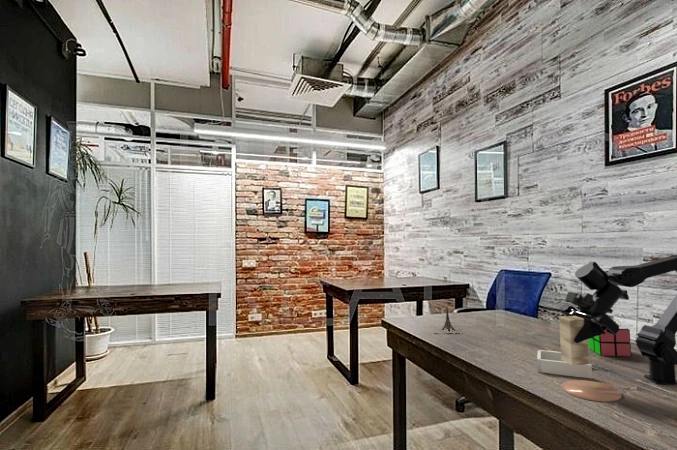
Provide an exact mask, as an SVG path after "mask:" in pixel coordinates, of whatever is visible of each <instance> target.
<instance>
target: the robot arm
mask: <svg viewBox="0 0 677 450" xmlns="http://www.w3.org/2000/svg"><path fill="white" fill-rule="evenodd" d="M674 271H675V272H676V274H677V254H671V255H669V256H666V257H663V258H659V259H655V260H652V261H651V260H650V261H647V262H644V263H641V264H640V263H639V264H636V265H618V266H615V265H614V266H612V267H610V268H608V270H606V271H605V270H604V269H602V267H601V266H600V265H599V264H598V263H597V262H596V261H589V262H588V263H587V264H584V265H582V266H581V267H579V268H577V270H576V271H575V273H574V276H575V278H577V279H578V280H579V281H580V282H581V283H582V284H583V285H584V286H586V288H588V289H589V290H591V291H594V290H595V291H594V292H593V294H591V293H589V292H583V293H577V292H573V291H568V292H567V295H566V296H565V300H564V301H565V302H566V303H570V304H573V305H569V304H562V305H561V306H560V307H559V311H560V312H561V313H562V315H564V316H577V317H580V318H583V319H584V326H583V327H582V329H581V330H580V331H579V333H578V334H577V336H576V337H575V339H574V341H575V342H576V343H579V342H582V341H584V340H587V341H588V339H589V338H592V337H595V336H598V335H601V334H606V333H605V332H604V331H605V329H606V328H607V329H606V330H607V332H608V333H610V334H613V335H616V334H617V333H618V331H619V325H620V324H618V323H617V322H616V321H615V320H614V319H613V318H612V317H610V316H609V315H608V313H609V314H612V313H613V312H614V310H613V309H612V308H613V306H614V305H616V303H617V301H619V299H621V300H626V301H628V300H630V297H629V294H628V290H627V289H626V290H625V289H622V288H621V287H627V288H634V287H637V286H639V285H641V284H642V283H644V282H645V281H646V280H647V279H649V278H652V277H656V276H659V275H660V276H661V275H664V274H667V273H671V272H674ZM676 333H677V294H676V295H675V296H674V298H673V299H672V300H671V302H670V303H669V305H668V306H667V308H665V310H664V312H663V313H662V314H661V316H660V317H659V318H658V320H657V321H656V322H655V324H653V325H648V324H644V325H643V326H642V327H641V329H640V331H639V332H638V333H636V336H637V337H636V339H635V343H636V347H637V349H638V350H639V352H640V354H641V356H642V357H644V358H645V357H646V358H648V371H649V372H648V373H649V374H644V375H643V377H645V378H647V379H648V380H650V381H652V382H653V383H655V384H658V385H677V379H676V369H675V368H676V367H675V366H676V365H677V350H676V349H675V347H676V345H677V342H676V341H677V340H676V339H677V338H676Z"/></svg>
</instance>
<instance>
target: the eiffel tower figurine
mask: <svg viewBox="0 0 677 450" xmlns="http://www.w3.org/2000/svg"><path fill="white" fill-rule="evenodd" d="M445 313H446V315H445V317H446V318H445V323H444V324H443V327H442V328H441V330H446V329H448V331H449V332H450V330H454V331H456V329H455V328H454V327H453V325H452V324H451V320H450V317H449V307H448V306H446V312H445Z"/></svg>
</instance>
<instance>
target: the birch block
mask: <svg viewBox="0 0 677 450" xmlns="http://www.w3.org/2000/svg"><path fill="white" fill-rule="evenodd" d="M558 325H559V342H560V352H561V360H563V361H565V362H567V363H569V364H570V365H587V364H590V359H588V357H589V341H588V339H587V340H584V341H582V342H579V343H576V342H575V341H574V339H575V337H576V336H577V334H578V333H579V331H580V330H581V329H582V327H583V326H584V319H583V318H580V317H577V316H565V315H564V316H563V315H562V316H558Z"/></svg>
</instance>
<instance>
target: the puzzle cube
mask: <svg viewBox="0 0 677 450" xmlns="http://www.w3.org/2000/svg"><path fill="white" fill-rule="evenodd" d="M618 325H619V331H618V333H617V334H616V335H613V334H610V333H608V332H607V330H606V329H607V328H606V329H605V331H604V332H605V333H606V334H601V335H598V336H595V337H592V338H589V339H587V341H588V349H589V350H591V351H593V352H594V353H596V354H597V355H599V356H601V357H625V358H626V357H632V347H631V346H632V345H631V344H632V343H631V332H630V329H629V328H628V327H625V326H624V325H620V324H618Z"/></svg>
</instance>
